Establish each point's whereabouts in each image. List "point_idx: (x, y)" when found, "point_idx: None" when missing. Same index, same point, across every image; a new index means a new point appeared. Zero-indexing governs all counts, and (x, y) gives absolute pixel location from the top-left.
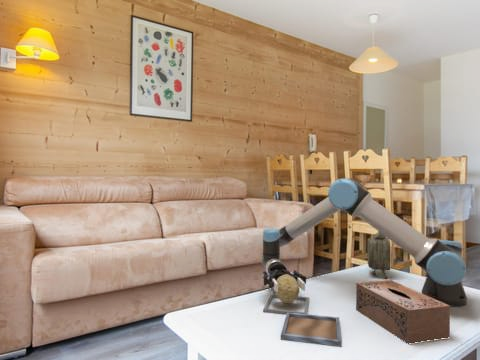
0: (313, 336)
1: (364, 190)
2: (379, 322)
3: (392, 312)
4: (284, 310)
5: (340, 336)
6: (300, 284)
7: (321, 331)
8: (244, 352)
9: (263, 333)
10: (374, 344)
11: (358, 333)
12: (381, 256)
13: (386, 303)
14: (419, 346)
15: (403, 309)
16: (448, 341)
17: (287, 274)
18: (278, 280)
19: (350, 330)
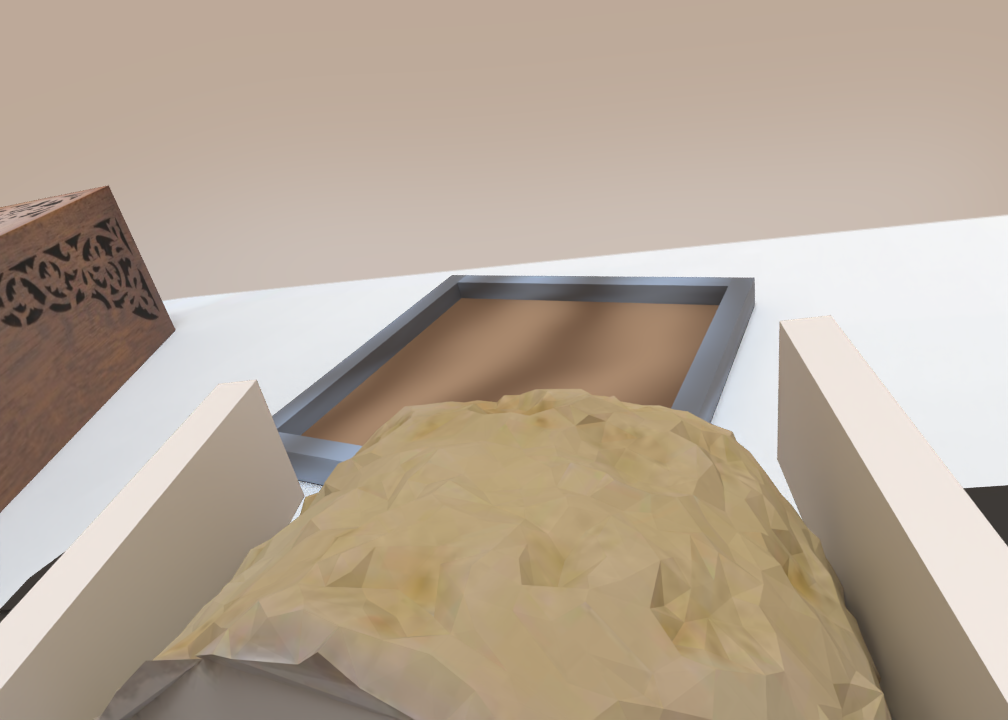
0: (550, 321)
1: None
2: (60, 424)
3: (73, 274)
4: None
5: (424, 298)
6: (211, 546)
7: (475, 355)
8: (954, 230)
9: (886, 335)
10: (302, 319)
11: (278, 372)
12: None
13: (24, 261)
14: None
15: (94, 203)
16: None
17: (303, 597)
18: (773, 558)
19: (289, 391)
